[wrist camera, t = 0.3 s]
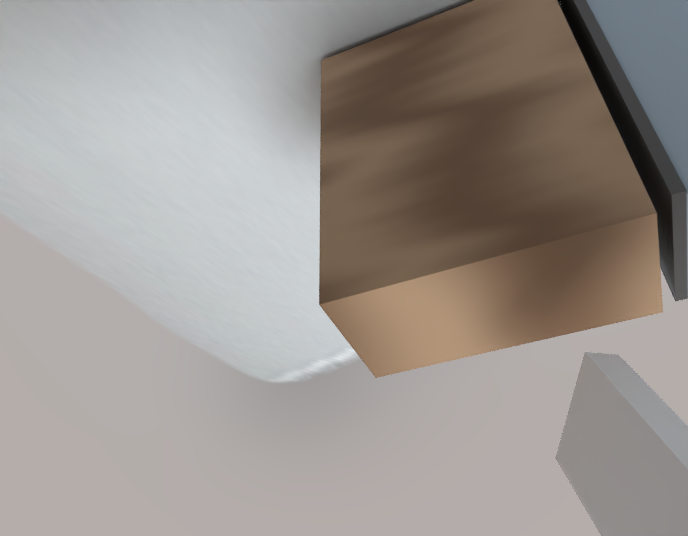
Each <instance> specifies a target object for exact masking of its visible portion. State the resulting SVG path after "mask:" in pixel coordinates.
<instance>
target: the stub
mask: <svg viewBox="0 0 688 536" xmlns="http://www.w3.org/2000/svg"><path fill="white" fill-rule="evenodd" d="M319 305H320V306H321V307H322V309H323V310H324V311H325V313H326V314H327V315H328V317H329V318H330V319H331V320H332V322H333V323H334V324H335V326H336V327H337V328H338V329H339V331H340V332H341V333H342V335H343V336H344V337H345V339H346V340H347V341H348V342H349V344H350V345H351V346H352V348H353V349H354V350H355V352H356V353H357V354H358V355H359V357H360V358H361V359H362V361H363V362H364V363H365V364H366V366H367V367H368V368H369V370H370V371H371V372H372V374H373V375H374V376H375V377H376V378H377V377H381V376H385V375H390V374H394V373H398V372H403V371H407V370H411V369H416V368H421V367H425V366H429V365H434V364H438V363H442V362H447V361H451V360H455V359H460V358H464V357H469V356H473V355H477V354H482V353H486V352H491V351H495V350H499V349H503V348H508V347H512V346H517V345H521V344H525V343H530V342H534V341H539V340H543V339H548V338H552V337H556V336H560V335H565V334H569V333H574V332H578V331H583V330H587V329H591V328H596V327H600V326H604V325H609V324H613V323H618V322H622V321H626V320H631V319H635V318H639V317H644V316H648V315H653V314H657V313H661V312H663V305H662V290H661V273H660V257H659V240H658V224H657V212H656V210H655V208H654V206H653V204H652V202H651V200H650V197H649V195H648V193H647V191H646V189H645V187H644V185H643V183H642V180H641V178H640V176H639V174H638V172H637V170H636V168H635V165H634V163H633V161H632V159H631V157H630V155H629V153H628V151H627V148H626V146H625V144H624V142H623V140H622V138H621V136H620V133H619V131H618V129H617V127H616V125H615V123H614V121H613V119H612V116H611V114H610V112H609V110H608V108H607V106H606V104H605V102H604V99H603V97H602V95H601V93H600V91H599V89H598V87H597V84H596V82H595V80H594V78H593V76H592V74H591V72H590V70H589V67H588V65H587V63H586V61H585V59H584V57H583V55H582V52H581V50H580V48H579V46H578V44H577V42H576V40H575V38H574V35H573V33H572V31H571V29H570V27H569V25H568V23H567V21H566V18H565V16H564V14H563V12H562V10H561V8H560V6H559V3H558V1H557V0H474V1H471V2H469V3H466V4H464V5H461V6H459V7H456V8H454V9H451V10H448V11H446V12H443V13H441V14H438V15H436V16H433V17H431V18H428V19H426V20H423V21H421V22H418V23H415V24H413V25H410V26H408V27H405V28H403V29H400V30H398V31H395V32H393V33H390V34H387V35H385V36H382V37H380V38H377V39H375V40H372V41H370V42H367V43H365V44H362V45H360V46H357V47H354V48H352V49H349V50H347V51H344V52H342V53H339V54H337V55H334V56H332V57H329V58H326V59H324V60H321V149H320V285H319Z"/></svg>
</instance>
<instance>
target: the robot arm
mask: <svg viewBox="0 0 688 536" xmlns="http://www.w3.org/2000/svg"><path fill="white" fill-rule="evenodd" d="M556 460H557V461H558V463H559V465H560V466H561V468H562V470H563V471H564V473H565V475H566V477H567V478H568V480H569V482H570V483H571V485H572V487H573V488H574V490H575V492H576V494H577V495H578V497H579V499H580V500H581V502H582V504H583V505H584V507H585V509H586V510H587V512H588V514H589V516H590V517H591V519H592V521H593V522H594V524H595V526H596V527H597V529H598V531H599V533H600V534H601V536H688V426H687V425H686V424H685V423H684V422H683V420H682V419H681V418H680V417H679V416H678V415H677V414H676V413H675V412H674V411H673V410H672V409H671V408H670V407H669V406H668V405H667V404H666V403H665V402H664V401H663V400H662V399H661V398H660V397H659V396H658V395H657V394H656V393H655V392H654V391H653V390H652V389H651V388H650V387H649V386H648V385H647V384H646V382H644V380H643V379H642V378H641V377H640V376H639V375H638V374H637V373H636V372H635V371H634V370H633V369H632V368H631V367H630V366H629V365H628V364H627V363H626V362H625V361H624V360H623V359H622V358H621V357H620V356H619V355H615V354H602V353H589V352H585V354H584V357H583V361H582V365H581V368H580V372H579V375H578V379H577V383H576V386H575V390H574V393H573V397H572V401H571V404H570V408H569V412H568V415H567V419H566V422H565V426H564V430H563V433H562V437H561V441H560V444H559V447H558V451H557V455H556Z"/></svg>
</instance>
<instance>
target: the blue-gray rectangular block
mask: <svg viewBox="0 0 688 536" xmlns="http://www.w3.org/2000/svg"><path fill="white" fill-rule="evenodd" d="M561 6H562V12H563V14H564V16H565V18H566V21H567V23H568V25H569V27H570V29H571V31H572V33H573V35H574V38H575V40H576V42H577V44H578V46H579V48H580V50H581V52H582V55H583V57H584V59H585V61H586V63H587V65H588V67H589V70H590V72H591V74H592V76H593V78H594V80H595V82H596V84H597V87H598V89H599V91H600V93H601V95H602V97H603V99H604V102H605V104H606V106H607V108H608V110H609V112H610V114H611V116H612V119H613V121H614V123H615V125H616V127H617V129H618V131H619V133H620V136H621V138H622V140H623V142H624V144H625V146H626V148H627V151H628V153H629V155H630V157H631V159H632V161H633V163H634V165H635V168H636V170H637V172H638V174H639V176H640V178H641V180H642V183H643V185H644V187H645V189H646V191H647V193H648V195H649V197H650V200H651V202H652V204H653V206H654V208H655V210H656V212H657V224H658V240H659V257H660V267H661V270H662V272H663V274H664V276H665V279H666V281H667V283H668V285H669V288H670V290H671V292H672V295H673V297H674V299H675V301H678V300H683V299H687V298H688V0H561Z"/></svg>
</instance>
